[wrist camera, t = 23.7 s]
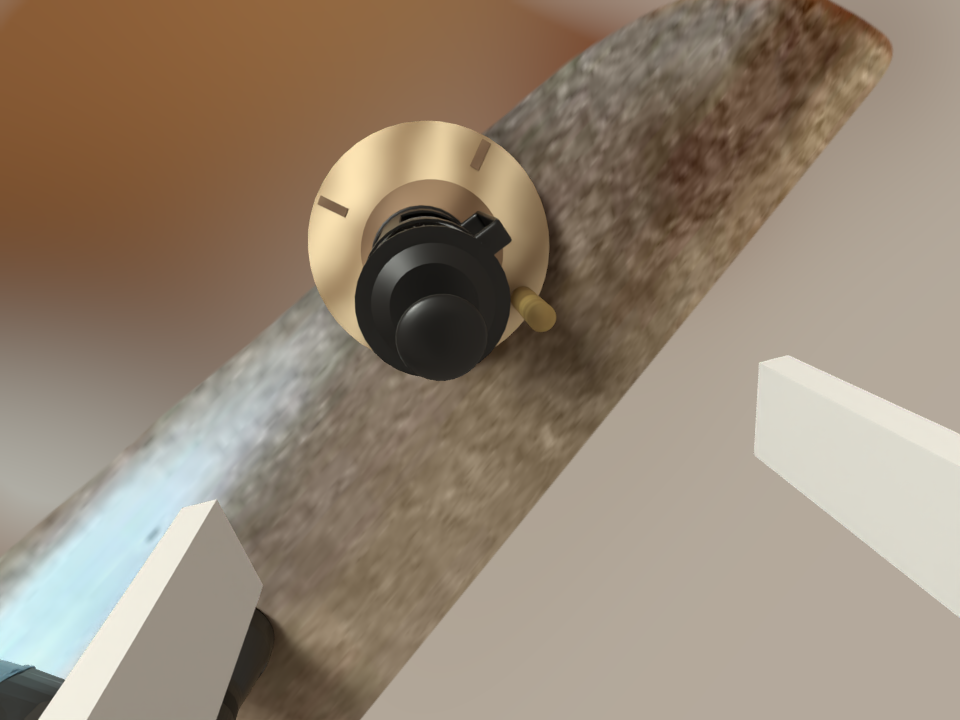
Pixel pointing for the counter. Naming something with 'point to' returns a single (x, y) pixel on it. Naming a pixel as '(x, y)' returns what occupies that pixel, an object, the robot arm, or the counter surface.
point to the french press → (434, 292)
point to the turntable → (433, 182)
